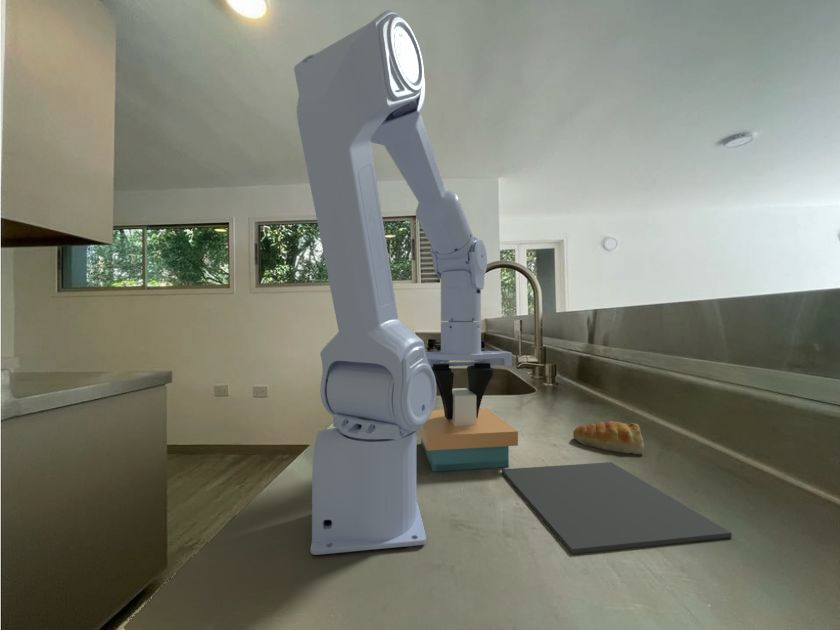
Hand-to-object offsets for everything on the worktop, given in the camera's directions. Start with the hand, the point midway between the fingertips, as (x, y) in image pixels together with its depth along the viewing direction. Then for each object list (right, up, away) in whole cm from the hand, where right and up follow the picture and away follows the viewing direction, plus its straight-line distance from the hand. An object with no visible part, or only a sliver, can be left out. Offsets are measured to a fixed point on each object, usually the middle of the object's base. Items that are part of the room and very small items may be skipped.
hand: (460, 417), depth 48 cm
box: (0, -5, 0) cm, 5 cm away
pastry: (+23, -6, +3) cm, 24 cm away
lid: (0, -1, 0) cm, 1 cm away
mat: (+13, -5, -12) cm, 19 cm away
